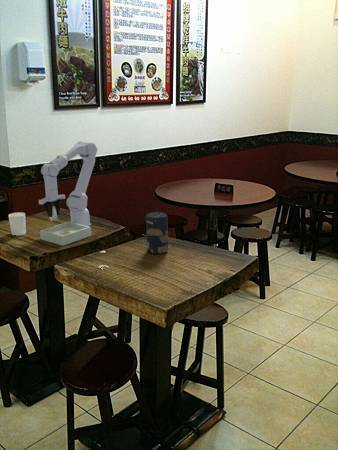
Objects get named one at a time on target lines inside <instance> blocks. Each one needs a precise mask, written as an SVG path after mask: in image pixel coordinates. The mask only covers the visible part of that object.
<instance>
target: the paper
mask: <svg viewBox="0 0 338 450" xmlns="http://www.w3.org/2000/svg"><path fill="white" fill-rule="evenodd" d="M100 253H106V251H105V250H102V251H100ZM101 267H102V268H101ZM98 268H99V269H100V268H101V269H100V270H102V271H103V269H104V268H107V269H110V267H109V266H108V265H106V264H104V265H103V264H101V265H98Z"/></svg>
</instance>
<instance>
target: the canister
mask: <svg viewBox="0 0 338 450" xmlns="http://www.w3.org/2000/svg"><path fill="white" fill-rule="evenodd" d="M168 222H169V220H168V215H167V213H164V212H160V211H154V212H150V213H148V214H146V216H145V226H146V227H145V230H146V233H145V234H146V235H145V236H146V250H147V252H149V253H151V254H163V253H166V252H167V251H168V249H169V225H168Z"/></svg>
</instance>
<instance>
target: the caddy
mask: <svg viewBox="0 0 338 450" xmlns="http://www.w3.org/2000/svg"><path fill="white" fill-rule="evenodd" d="M39 233H40V239H41V240H42V241H46V242H48V243H53V244H56V245H59V246H61V247H62V246H66V245H69V244H72V243H74V242H77V241H78V242H79V241H81V240H83V239H86V238H89V237H91V236H92V227H91V226H90V225H89V226H85V225H81V224H77V223H73V222H71V221H66V222H63V223H60V224H56V225H54V226H53V225H52V226H49V227H46V228H44V229H41V230H39Z"/></svg>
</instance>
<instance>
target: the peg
mask: <svg viewBox="0 0 338 450" xmlns="http://www.w3.org/2000/svg"><path fill="white" fill-rule="evenodd" d="M49 221H50V222H56V221H58V215H57V209H56V206H54V205H53V206H52V217H49Z"/></svg>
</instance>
